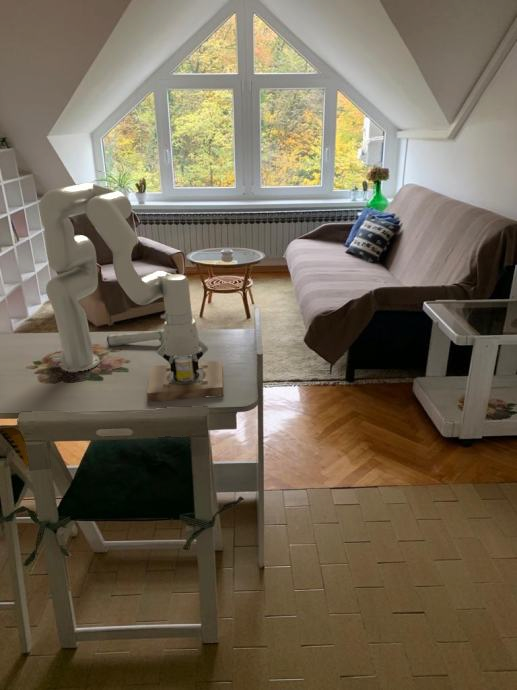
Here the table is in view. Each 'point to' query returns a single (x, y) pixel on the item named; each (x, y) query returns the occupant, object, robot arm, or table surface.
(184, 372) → the supplement bottle
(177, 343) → the robot arm
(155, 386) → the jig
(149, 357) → the table surface
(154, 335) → the grey elongated piece
